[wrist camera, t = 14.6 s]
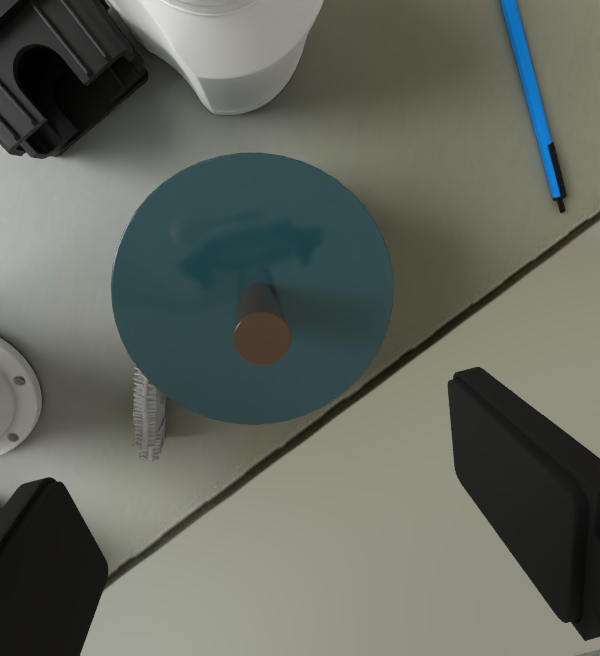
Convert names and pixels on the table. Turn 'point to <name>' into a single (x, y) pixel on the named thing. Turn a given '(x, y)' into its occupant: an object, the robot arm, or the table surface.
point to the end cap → (60, 72)
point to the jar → (225, 44)
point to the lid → (252, 288)
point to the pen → (534, 101)
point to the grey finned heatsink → (148, 417)
